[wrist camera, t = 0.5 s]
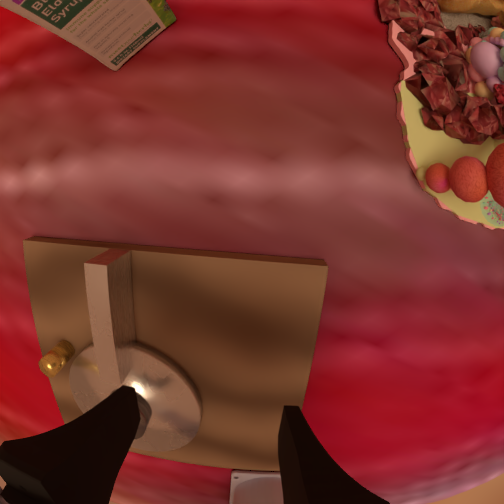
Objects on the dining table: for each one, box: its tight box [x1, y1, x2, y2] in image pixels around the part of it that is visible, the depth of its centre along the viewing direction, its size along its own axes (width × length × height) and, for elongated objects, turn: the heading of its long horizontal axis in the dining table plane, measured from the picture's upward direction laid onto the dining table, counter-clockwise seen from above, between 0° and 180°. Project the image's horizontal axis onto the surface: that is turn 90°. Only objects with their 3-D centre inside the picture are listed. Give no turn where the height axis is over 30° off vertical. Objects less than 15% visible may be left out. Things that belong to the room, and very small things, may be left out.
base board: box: [23, 236, 328, 471], centre depth 22 cm, size 20×22×2 cm
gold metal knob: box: [39, 340, 75, 378], centre depth 19 cm, size 2×2×3 cm
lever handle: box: [69, 249, 202, 452], centre depth 19 cm, size 18×11×3 cm, turn 176°
